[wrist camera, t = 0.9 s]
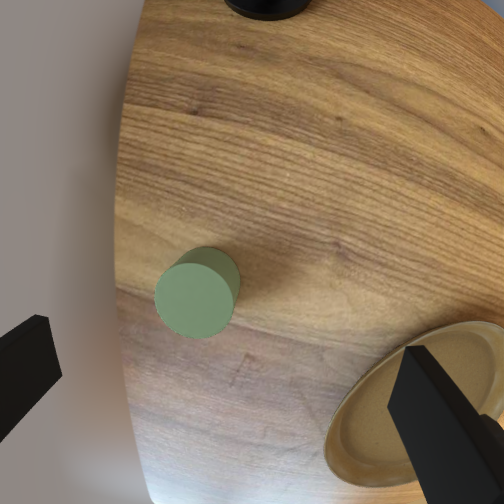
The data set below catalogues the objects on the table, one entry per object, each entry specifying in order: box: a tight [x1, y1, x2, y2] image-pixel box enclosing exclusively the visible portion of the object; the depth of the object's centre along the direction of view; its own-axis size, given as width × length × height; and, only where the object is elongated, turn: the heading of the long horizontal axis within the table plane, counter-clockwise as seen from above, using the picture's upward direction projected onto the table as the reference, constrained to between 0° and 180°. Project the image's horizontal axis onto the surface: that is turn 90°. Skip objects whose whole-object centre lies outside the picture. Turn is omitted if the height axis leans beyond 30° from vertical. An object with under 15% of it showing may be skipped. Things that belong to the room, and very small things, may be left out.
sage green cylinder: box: [154, 247, 240, 339], centre depth 23 cm, size 6×6×5 cm
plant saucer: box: [324, 321, 504, 488], centre depth 26 cm, size 24×24×3 cm
